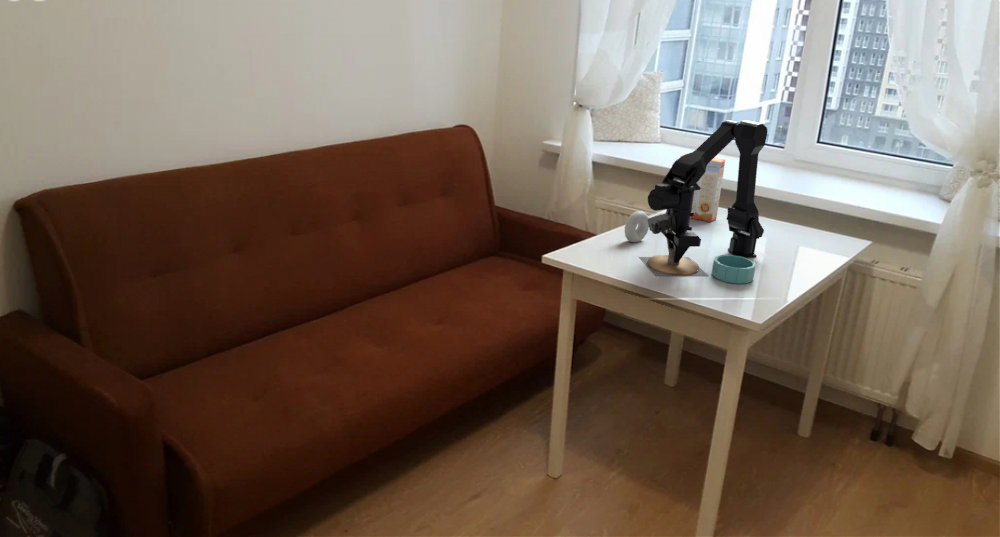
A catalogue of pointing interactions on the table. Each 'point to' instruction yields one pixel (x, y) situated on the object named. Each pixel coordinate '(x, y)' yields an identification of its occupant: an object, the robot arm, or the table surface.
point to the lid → (672, 264)
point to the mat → (656, 273)
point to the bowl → (733, 269)
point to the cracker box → (708, 191)
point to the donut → (631, 224)
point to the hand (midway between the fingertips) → (673, 260)
